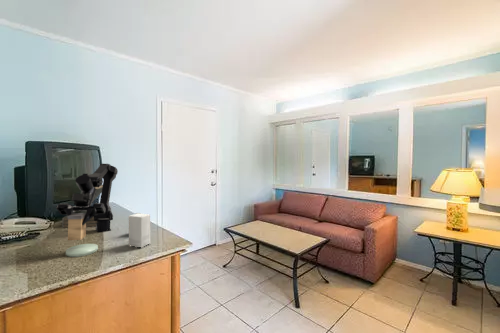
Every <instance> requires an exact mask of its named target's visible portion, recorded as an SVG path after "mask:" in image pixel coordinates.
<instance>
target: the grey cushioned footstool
mask: <svg viewBox="0 0 500 333" xmlns="http://www.w3.org/2000/svg"><path fill="white" fill-rule="evenodd" d="M85 215H86V213H73V214H71V215H69V216H68V215H67V216H68V227H67V241H81V240H83V239H84V238H86V236H87V234H86V233H87V227H86V223H85V224H84V225H82V222H83V219H84V217H85Z"/></svg>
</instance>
